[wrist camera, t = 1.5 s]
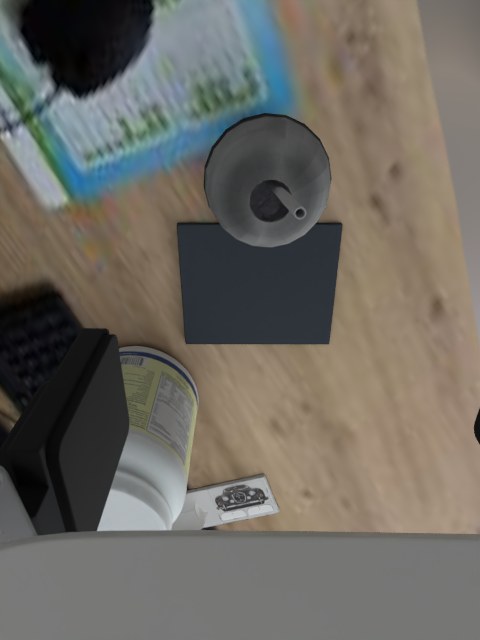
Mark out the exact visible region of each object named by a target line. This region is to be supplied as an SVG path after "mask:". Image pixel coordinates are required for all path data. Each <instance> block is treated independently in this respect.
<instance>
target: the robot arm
mask: <svg viewBox="0 0 480 640" xmlns="http://www.w3.org/2000/svg"><path fill="white" fill-rule="evenodd" d="M128 432H129V414H128V407H127V400H126V394H125V387H124V380H123V374H122V367H121V361H120V354H119V347H118V341H117V337H116V335H110V334H109V331H108V330H107V329H91V328H84V329H82V330H81V331H80V333H79V335H78V336H77V338H76V339H75V341H74V343H73V344H72V346H71V347H70V349H69V351H68V352H67V354H66V355H65V357H64V359H63V360H62V362H61V364H60V365H59V367H58V368H57V370H56V372H55V373H54V375H53V376H52V378H51V380H50V381H46V382H43V383H42V384H41V386H40V387H39V388H38V390H37V391H36V393H35V394H34V396H33V398H32V399H31V401H30V402H29V404H28V405H27V407H26V408H25V410H24V412H23V413H22V415H21V416H20V418H19V419H18V421H17V422H16V424H15V426H14V427H13V429H12V430H11V432H10V433H9V435H8V437H7V438H6V440H5V441H4V443H3V444H2V446H1V447H0V640H480V534H440V533H380V532H314V531H221V530H124V531H97V529H98V526H99V523H100V520H101V517H102V514H103V510H104V507H105V504H106V501H107V498H108V495H109V492H110V489H111V486H112V482H113V479H114V476H115V473H116V470H117V467H118V464H119V461H120V458H121V454H122V451H123V448H124V445H125V442H126V439H127V436H128ZM474 433H475V437H476V439H477V441H478V442H479V444H480V409H479V412H478V415H477V418H476V420H475V424H474Z"/></svg>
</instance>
